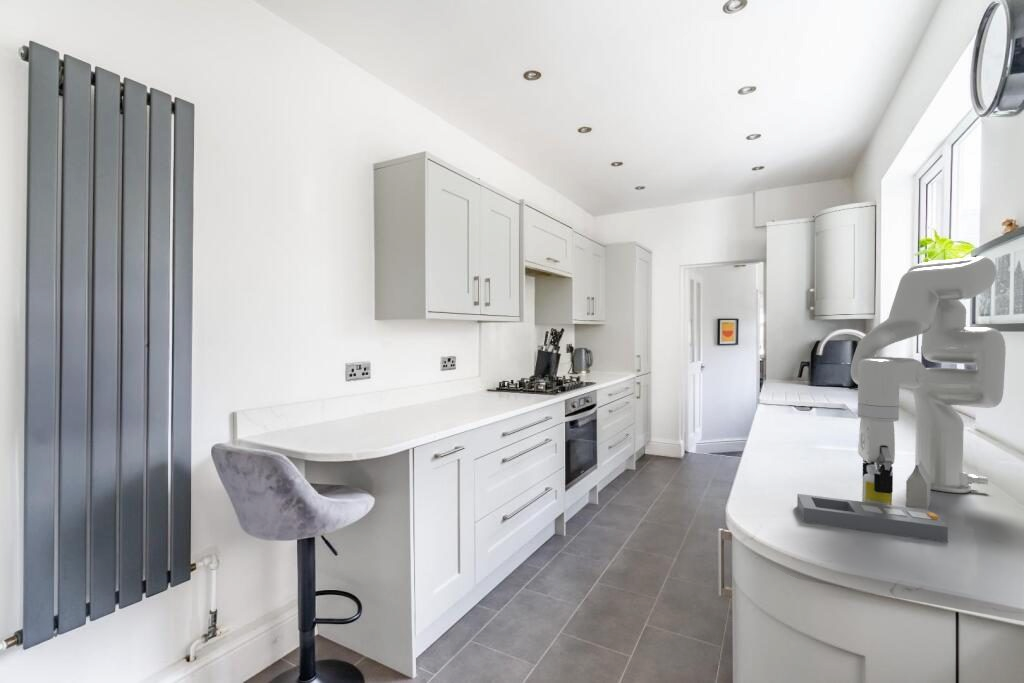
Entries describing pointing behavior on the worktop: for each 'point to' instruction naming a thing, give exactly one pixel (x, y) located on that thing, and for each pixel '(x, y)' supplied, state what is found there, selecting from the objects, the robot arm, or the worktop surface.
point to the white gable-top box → (918, 488)
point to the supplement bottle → (868, 489)
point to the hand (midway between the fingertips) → (876, 486)
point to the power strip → (872, 517)
